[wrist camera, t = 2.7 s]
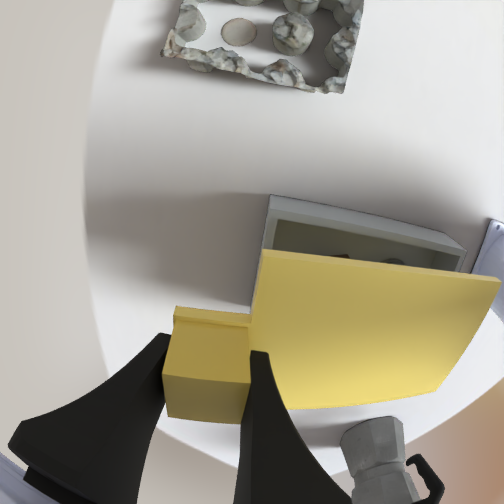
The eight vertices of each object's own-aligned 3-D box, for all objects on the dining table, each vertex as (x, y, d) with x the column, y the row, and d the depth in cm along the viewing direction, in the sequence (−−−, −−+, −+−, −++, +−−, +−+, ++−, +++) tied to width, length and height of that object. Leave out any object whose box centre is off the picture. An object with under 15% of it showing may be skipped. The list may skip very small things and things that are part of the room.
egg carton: (173, 71, 15) (148, 58, 11) (205, -16, 12) (190, -42, 8) (330, 109, 16) (346, 103, 12) (356, 18, 13) (375, -4, 9)
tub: (443, 232, 18) (467, 250, 15) (404, 325, 22) (418, 350, 19) (270, 194, 18) (270, 208, 15) (250, 307, 22) (246, 336, 19)
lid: (491, 273, 12) (531, 308, 8) (429, 380, 16) (451, 419, 12) (180, 233, 10) (151, 292, 7) (180, 386, 14) (171, 446, 10)
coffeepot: (366, 453, 33) (379, 545, 17) (318, 450, 32) (323, 555, 16) (435, 399, 27) (472, 508, 10) (388, 392, 26) (422, 531, 10)
